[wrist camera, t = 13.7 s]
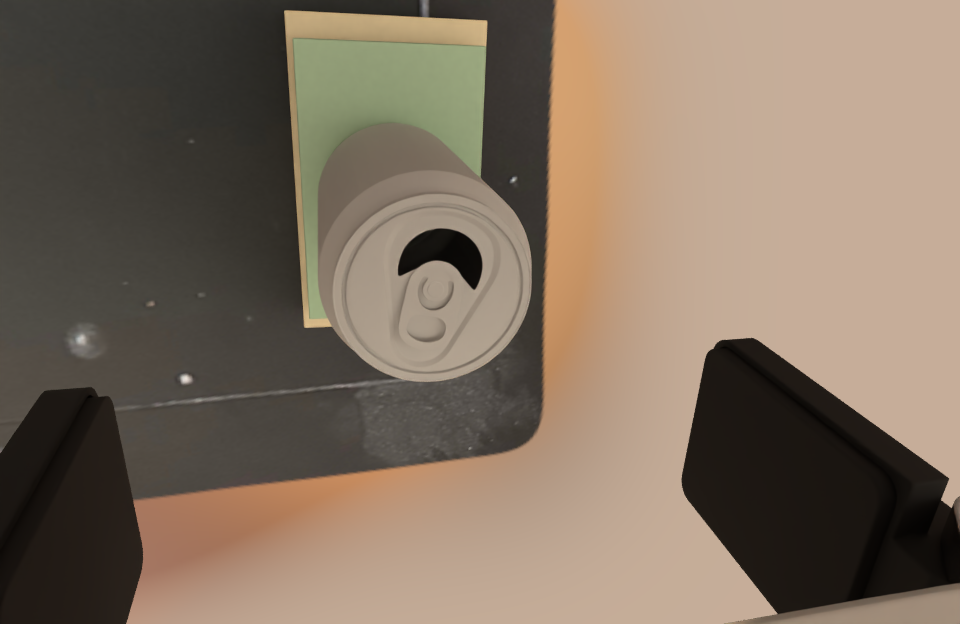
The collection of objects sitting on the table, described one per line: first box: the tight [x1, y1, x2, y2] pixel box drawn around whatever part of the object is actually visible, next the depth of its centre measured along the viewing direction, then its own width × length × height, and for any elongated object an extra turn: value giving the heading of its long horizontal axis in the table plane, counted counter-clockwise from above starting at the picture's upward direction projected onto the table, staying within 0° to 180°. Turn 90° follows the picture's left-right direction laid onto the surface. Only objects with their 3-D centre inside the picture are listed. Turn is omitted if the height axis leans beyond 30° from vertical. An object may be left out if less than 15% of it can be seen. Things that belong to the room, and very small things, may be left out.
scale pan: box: [293, 38, 486, 319], centre depth 30 cm, size 12×8×1 cm, turn 177°
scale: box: [284, 10, 487, 328], centre depth 31 cm, size 14×8×3 cm, turn 177°
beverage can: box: [318, 123, 532, 382], centre depth 24 cm, size 6×6×12 cm
